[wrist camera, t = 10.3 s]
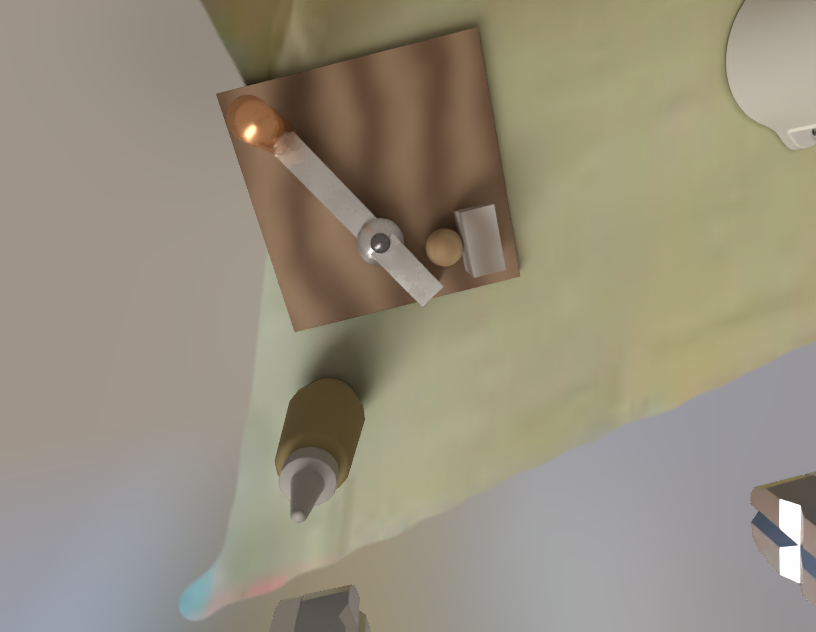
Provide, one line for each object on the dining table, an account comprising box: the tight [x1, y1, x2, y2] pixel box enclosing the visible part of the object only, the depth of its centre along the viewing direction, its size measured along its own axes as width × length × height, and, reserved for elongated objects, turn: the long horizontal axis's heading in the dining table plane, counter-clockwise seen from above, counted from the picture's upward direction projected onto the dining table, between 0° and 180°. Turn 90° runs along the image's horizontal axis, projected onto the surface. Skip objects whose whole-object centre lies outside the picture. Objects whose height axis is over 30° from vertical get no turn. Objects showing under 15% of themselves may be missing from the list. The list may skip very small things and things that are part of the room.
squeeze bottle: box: [275, 378, 365, 523], centre depth 39 cm, size 8×8×18 cm
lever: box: [227, 95, 443, 307], centre depth 37 cm, size 4×22×9 cm, turn 44°
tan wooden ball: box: [426, 229, 463, 266], centre depth 41 cm, size 4×4×4 cm
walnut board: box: [217, 27, 520, 332], centre depth 39 cm, size 24×23×6 cm
